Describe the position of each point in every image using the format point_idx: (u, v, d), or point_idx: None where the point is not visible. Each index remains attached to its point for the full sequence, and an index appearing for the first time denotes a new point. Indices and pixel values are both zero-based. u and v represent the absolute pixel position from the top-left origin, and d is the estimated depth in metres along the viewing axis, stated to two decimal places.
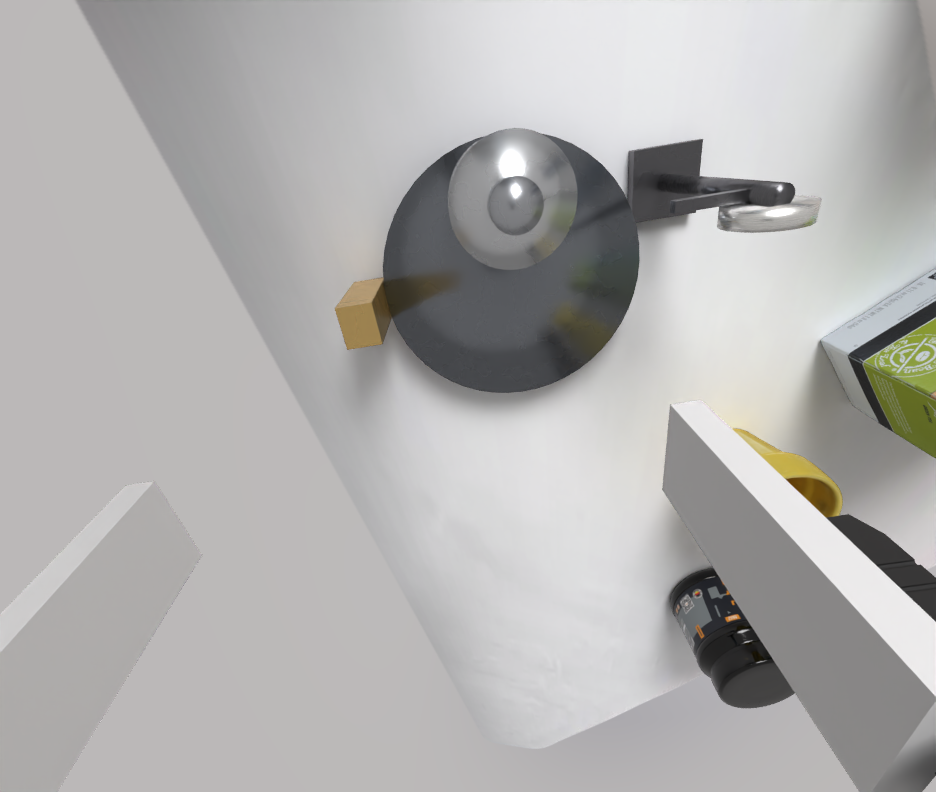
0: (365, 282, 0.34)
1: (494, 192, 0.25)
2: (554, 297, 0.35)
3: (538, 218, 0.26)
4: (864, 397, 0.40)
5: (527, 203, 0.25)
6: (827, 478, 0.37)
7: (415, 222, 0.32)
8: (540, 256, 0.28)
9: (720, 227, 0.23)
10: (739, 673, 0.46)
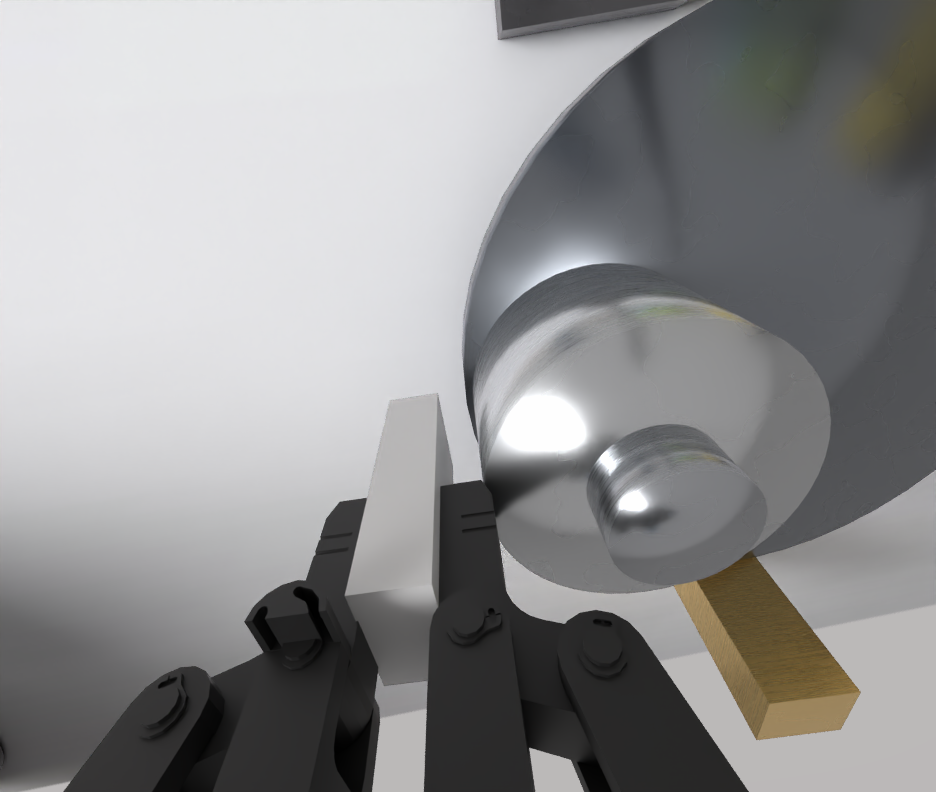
0: None
1: (638, 578, 0.09)
2: (847, 250, 0.13)
3: (737, 480, 0.08)
4: None
5: (686, 509, 0.09)
6: None
7: None
8: (814, 405, 0.09)
9: None
10: None
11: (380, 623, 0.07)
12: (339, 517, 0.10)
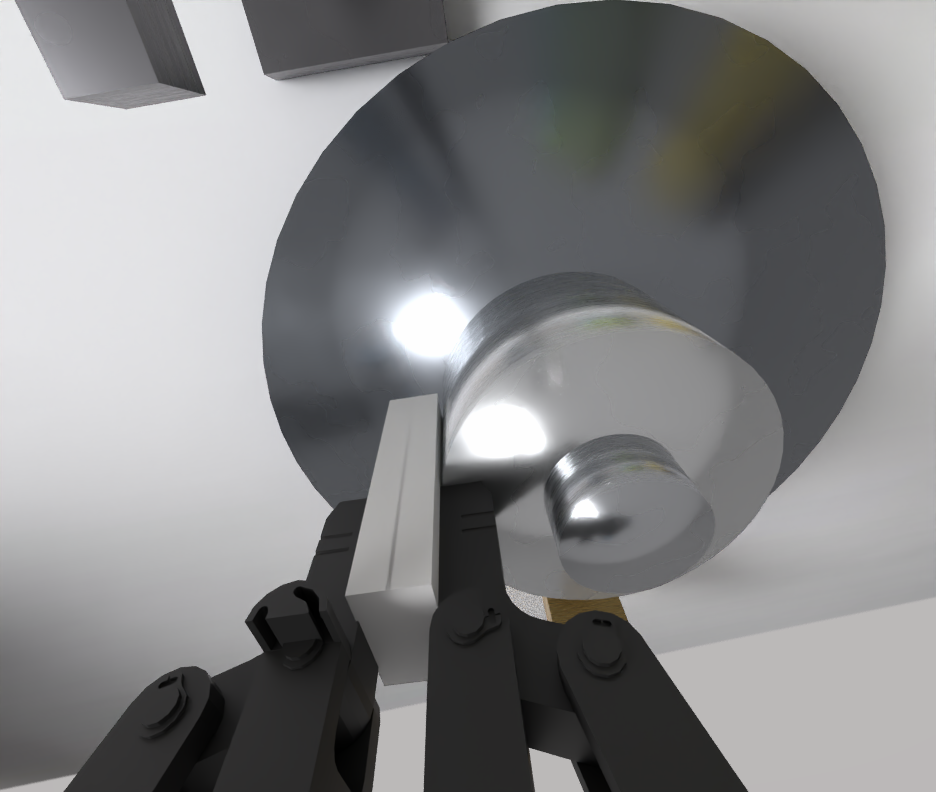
0: None
1: (590, 586, 0.10)
2: None
3: (684, 491, 0.08)
4: None
5: (634, 519, 0.09)
6: None
7: None
8: (767, 418, 0.10)
9: None
10: None
11: (380, 623, 0.07)
12: (339, 518, 0.10)
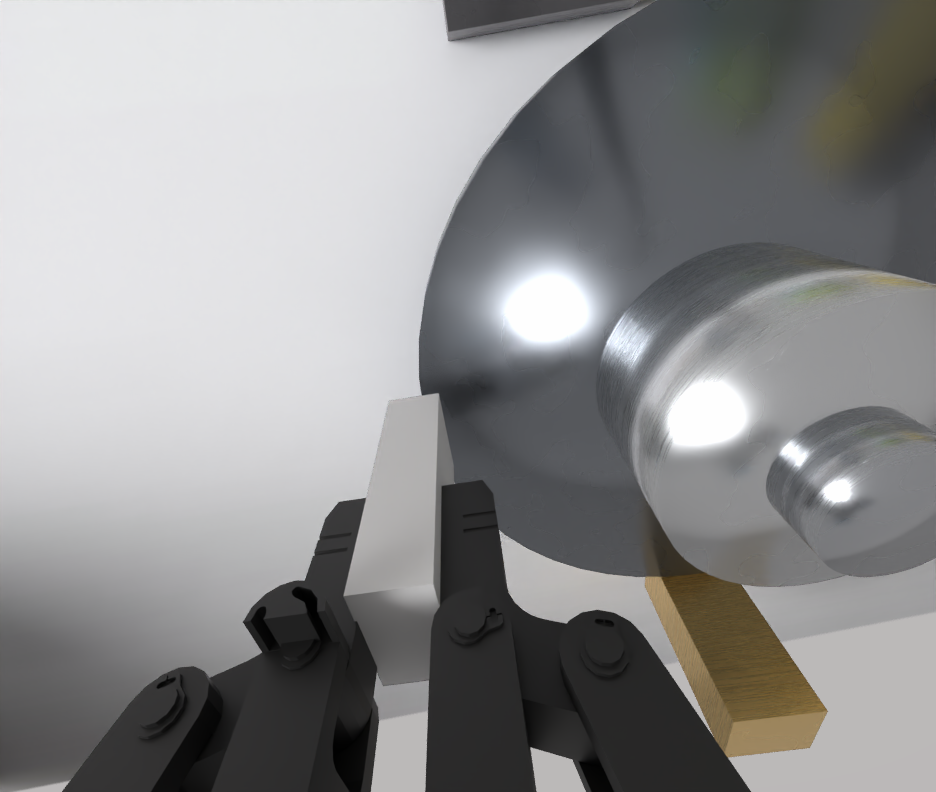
0: (652, 585, 0.20)
1: (837, 568, 0.09)
2: None
3: None
4: None
5: (913, 495, 0.08)
6: None
7: (570, 534, 0.17)
8: None
9: None
10: None
11: (378, 623, 0.07)
12: (337, 518, 0.10)
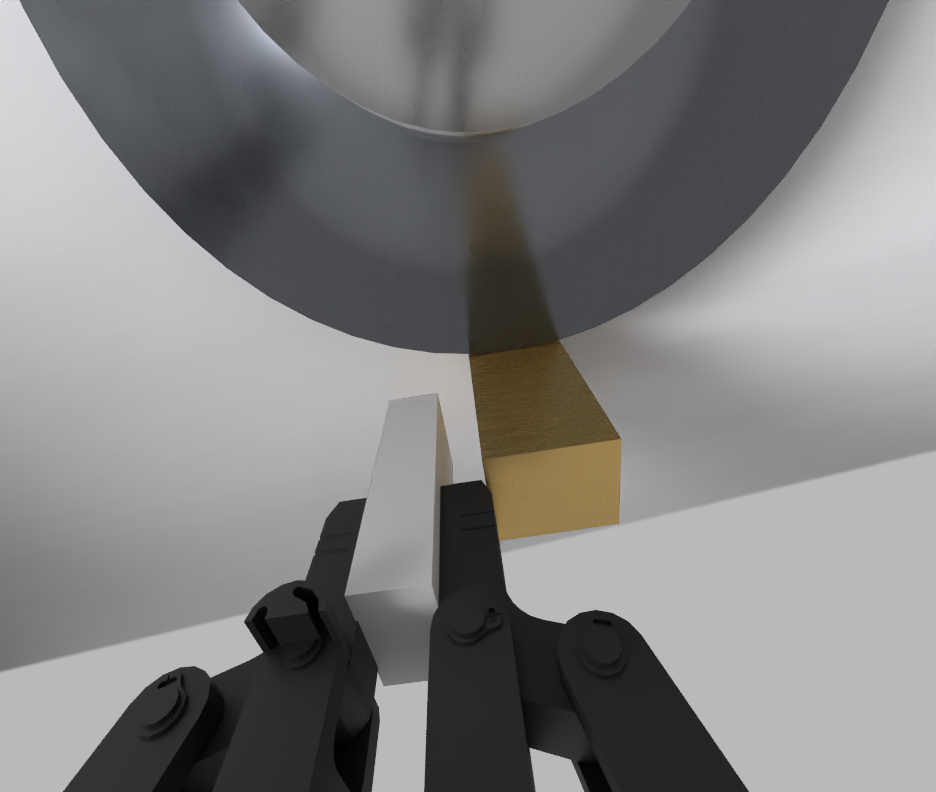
0: None
1: None
2: None
3: None
4: None
5: None
6: None
7: (320, 269, 0.13)
8: None
9: None
10: None
11: (379, 623, 0.07)
12: (339, 518, 0.10)
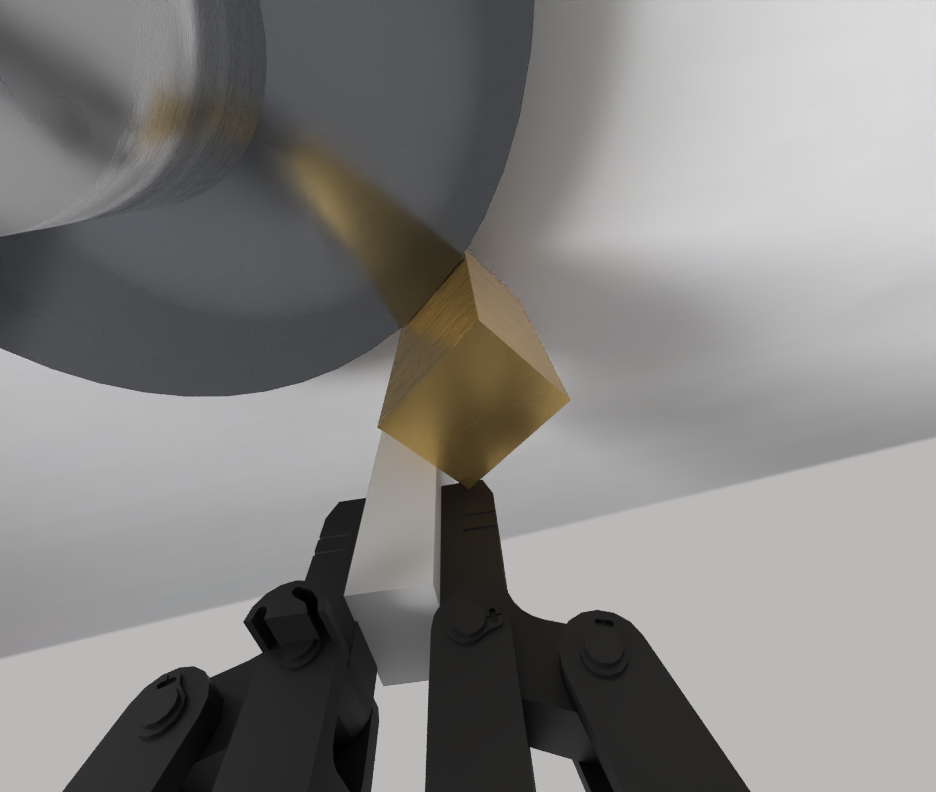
0: None
1: None
2: None
3: None
4: None
5: None
6: None
7: (237, 349, 0.14)
8: None
9: None
10: None
11: (379, 623, 0.07)
12: (338, 518, 0.10)
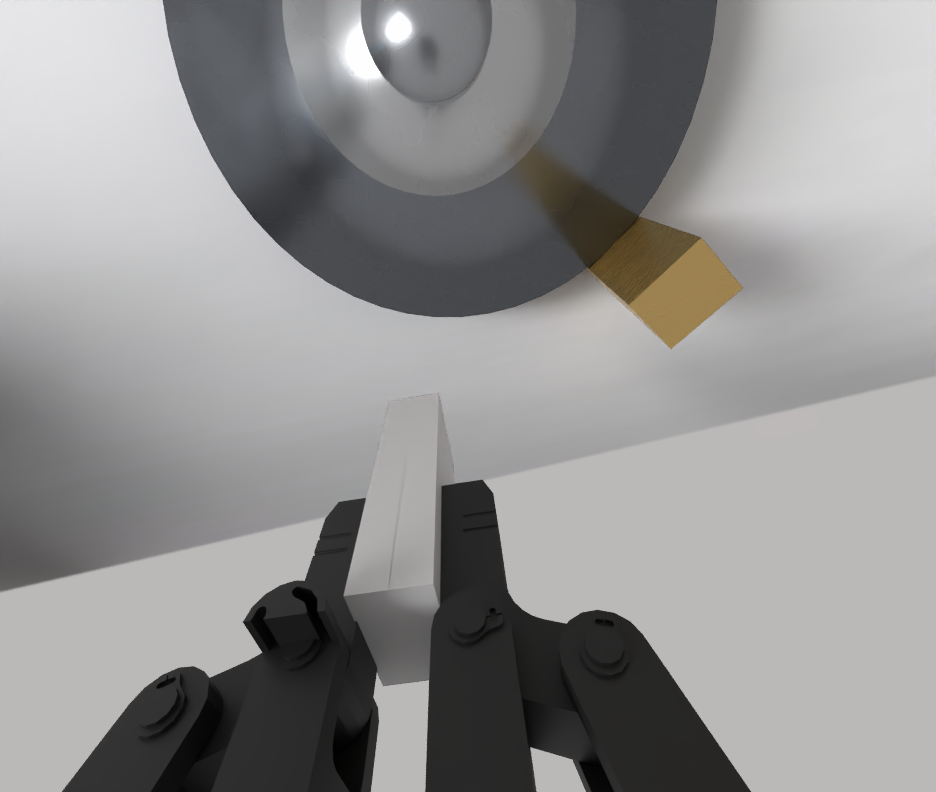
0: None
1: (437, 96, 0.11)
2: None
3: None
4: None
5: (404, 0, 0.10)
6: None
7: (477, 282, 0.20)
8: None
9: None
10: None
11: (379, 623, 0.07)
12: (338, 517, 0.10)
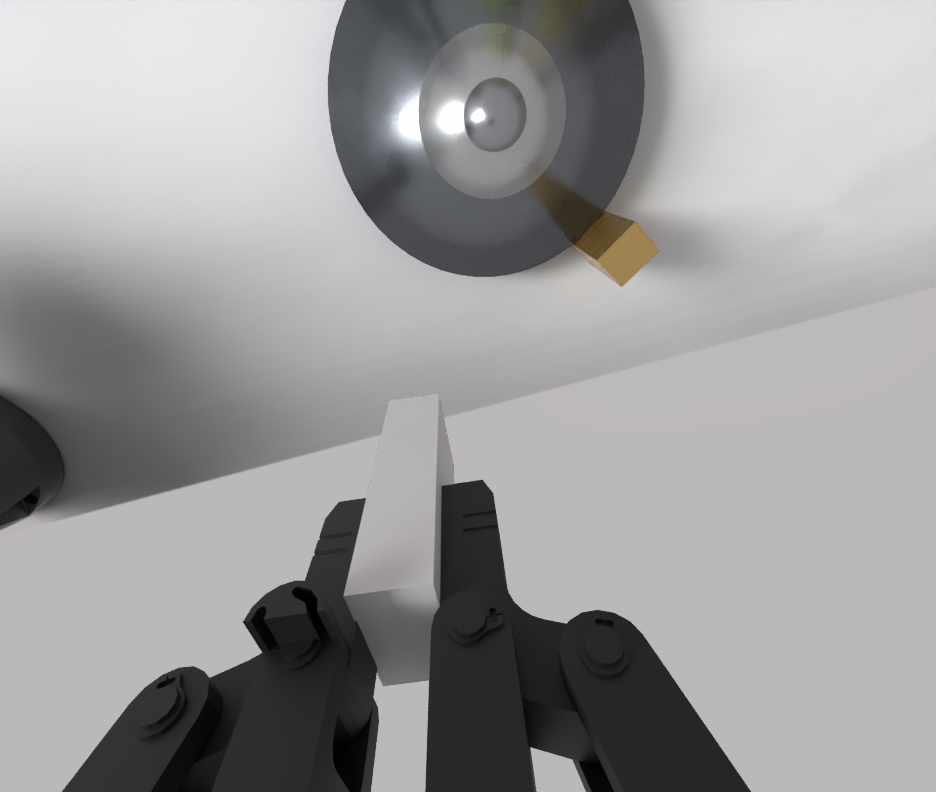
0: None
1: (498, 150, 0.23)
2: None
3: (490, 80, 0.21)
4: None
5: (485, 106, 0.22)
6: None
7: (503, 253, 0.32)
8: (520, 36, 0.22)
9: None
10: None
11: (379, 623, 0.07)
12: (338, 517, 0.10)
